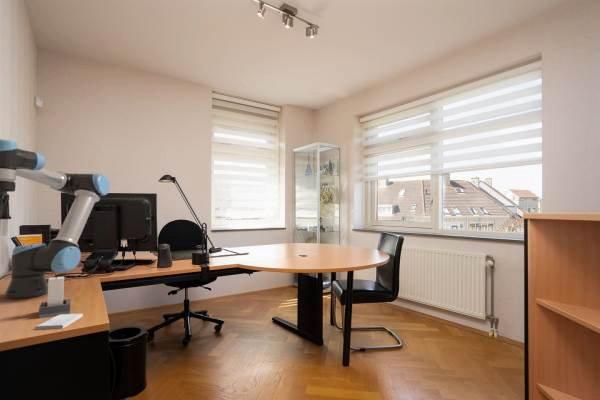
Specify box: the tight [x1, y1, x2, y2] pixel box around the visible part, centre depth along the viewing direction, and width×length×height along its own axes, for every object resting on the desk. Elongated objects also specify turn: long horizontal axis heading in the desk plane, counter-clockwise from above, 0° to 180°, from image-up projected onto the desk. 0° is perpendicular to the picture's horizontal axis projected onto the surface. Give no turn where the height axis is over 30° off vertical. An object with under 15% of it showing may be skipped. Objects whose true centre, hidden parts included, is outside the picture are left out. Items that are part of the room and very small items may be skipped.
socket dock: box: [38, 298, 72, 319], centre depth 118 cm, size 9×9×4 cm
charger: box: [47, 276, 65, 306], centre depth 118 cm, size 4×4×12 cm
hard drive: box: [34, 313, 84, 330], centre depth 107 cm, size 2×8×12 cm
